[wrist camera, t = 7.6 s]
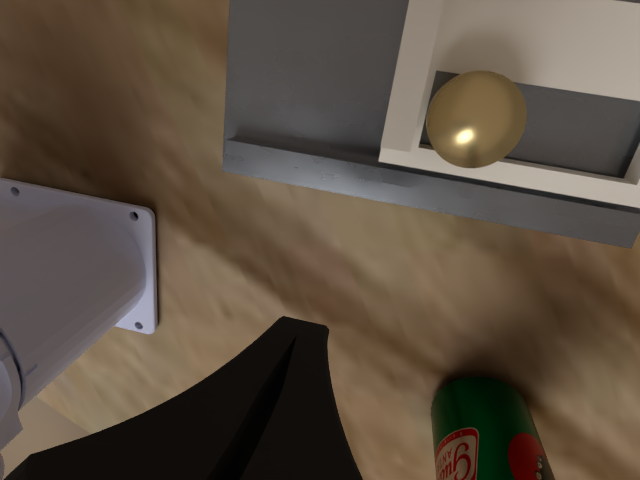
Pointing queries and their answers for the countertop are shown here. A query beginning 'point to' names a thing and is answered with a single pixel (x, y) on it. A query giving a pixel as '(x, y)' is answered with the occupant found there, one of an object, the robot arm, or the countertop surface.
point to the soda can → (485, 433)
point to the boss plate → (438, 130)
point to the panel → (516, 76)
